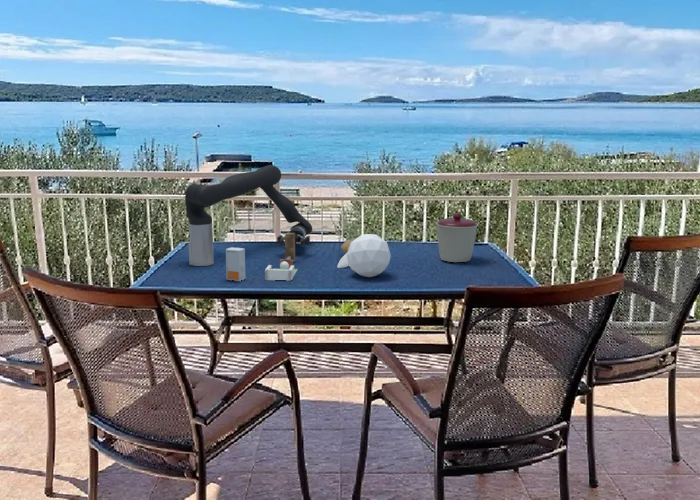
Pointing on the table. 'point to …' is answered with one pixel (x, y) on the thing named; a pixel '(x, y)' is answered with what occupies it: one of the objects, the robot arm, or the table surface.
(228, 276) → the skincare box
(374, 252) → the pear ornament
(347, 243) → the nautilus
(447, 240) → the canister
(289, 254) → the brown thin block
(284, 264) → the ball
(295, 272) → the pale green square plate
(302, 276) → the table surface
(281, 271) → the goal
